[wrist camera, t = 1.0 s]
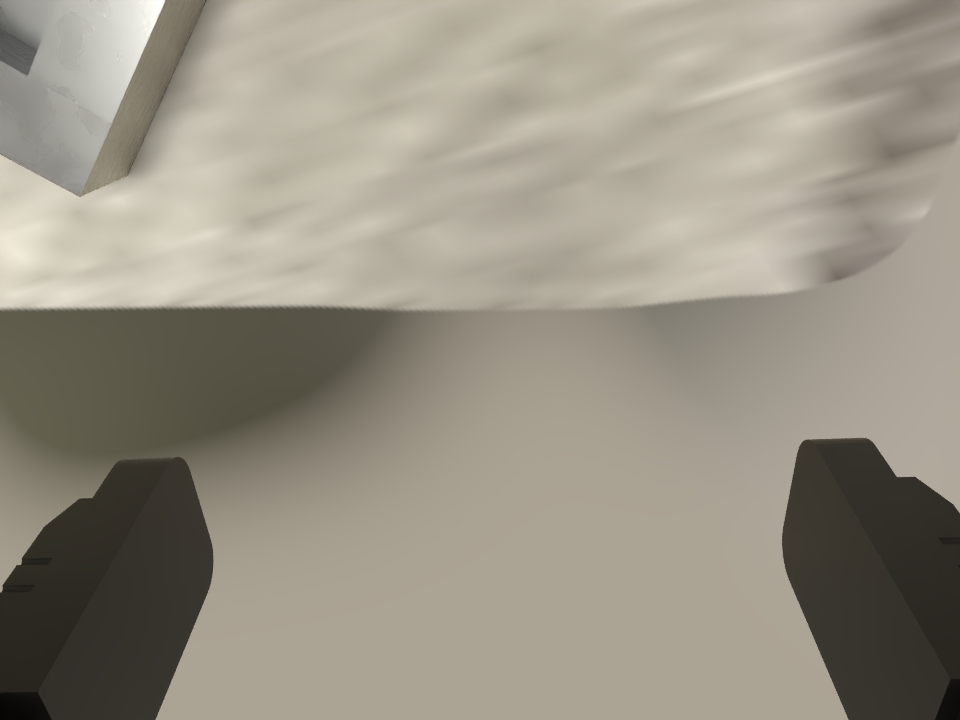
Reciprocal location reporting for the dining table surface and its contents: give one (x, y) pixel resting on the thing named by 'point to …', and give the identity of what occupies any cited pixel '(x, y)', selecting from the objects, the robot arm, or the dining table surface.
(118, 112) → the port
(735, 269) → the dining table surface
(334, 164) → the dining table surface
